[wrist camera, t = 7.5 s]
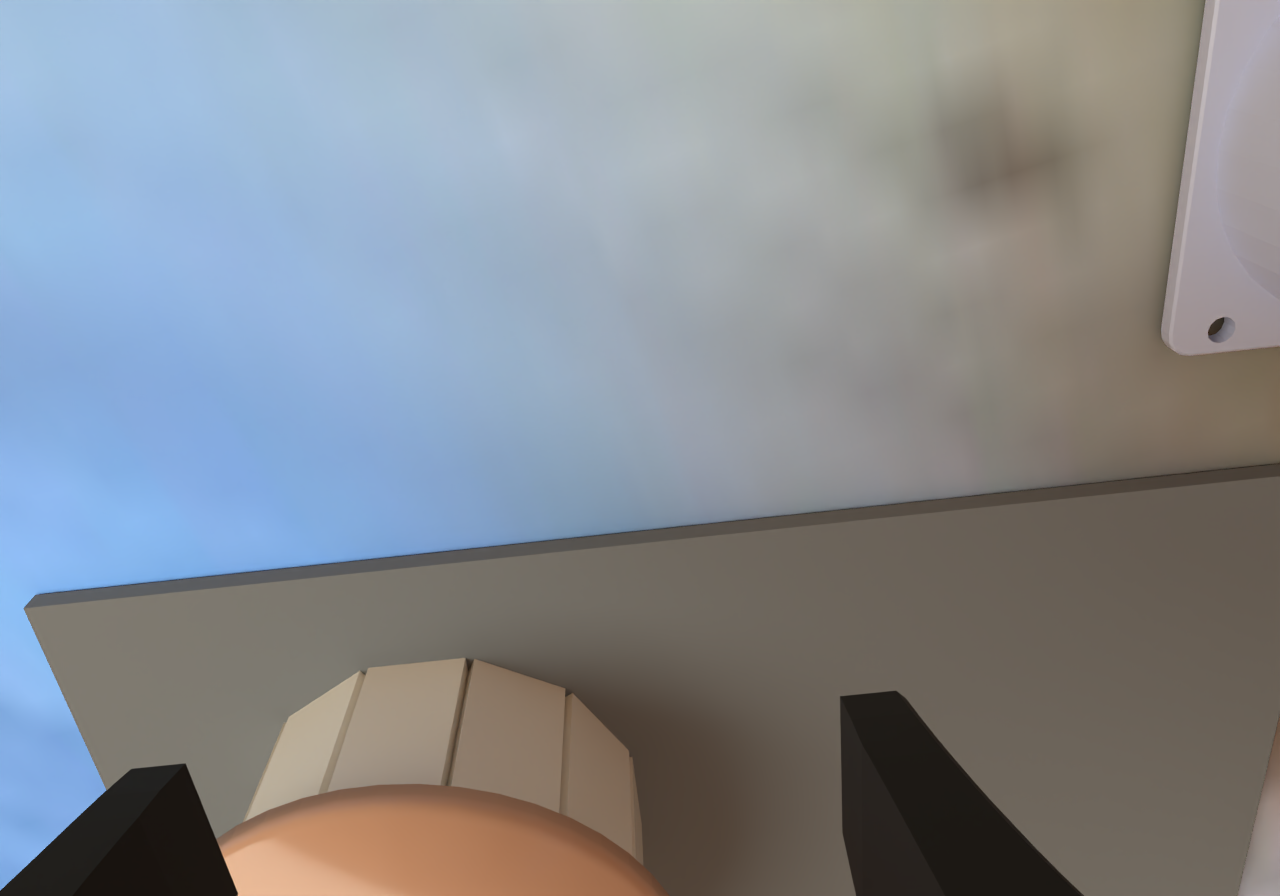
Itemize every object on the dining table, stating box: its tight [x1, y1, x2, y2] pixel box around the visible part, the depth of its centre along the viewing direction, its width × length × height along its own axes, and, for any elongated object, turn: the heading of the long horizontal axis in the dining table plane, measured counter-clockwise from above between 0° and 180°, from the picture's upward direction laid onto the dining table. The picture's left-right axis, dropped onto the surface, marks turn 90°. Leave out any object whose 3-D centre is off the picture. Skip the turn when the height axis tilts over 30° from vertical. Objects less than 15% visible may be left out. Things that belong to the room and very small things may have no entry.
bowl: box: [243, 658, 643, 865], centre depth 22 cm, size 9×9×4 cm
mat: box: [24, 464, 1280, 896], centre depth 25 cm, size 28×17×1 cm, turn 96°
